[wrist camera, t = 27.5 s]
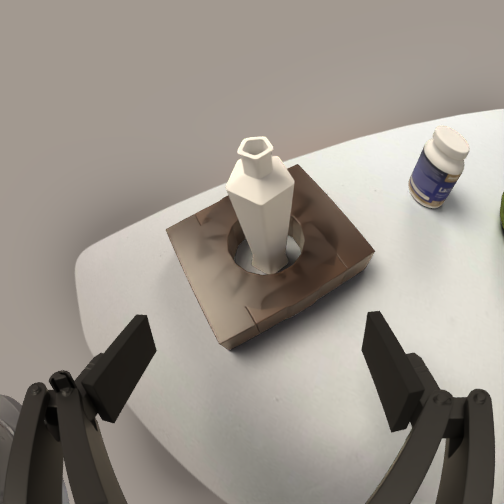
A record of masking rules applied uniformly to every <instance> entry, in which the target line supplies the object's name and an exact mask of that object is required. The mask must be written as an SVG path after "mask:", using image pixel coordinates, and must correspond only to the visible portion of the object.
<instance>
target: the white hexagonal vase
mask: <svg viewBox="0 0 504 504" xmlns="http://www.w3.org/2000/svg"><path fill="white" fill-rule="evenodd" d="M272 151H273V146H272V145H271V143H270V142H269V140H268V139H267V138H266V137H252V138H245V139H243V141H242V143H241V145H240V147H239V149H238V154H240V155H241V159H240V160H238V161H237V163H236V165H235V167H234V169H233V172H232V174H231V176H230V178H229V180H228V182H227V185H226V190H227V193H228V195H229V198H230V200H231V203H232V205H233V207H234V210H235V212H236V215H237V217H238V220H239V222H240V225H241V227H242V229H243V232H244V234H245V237H246V239H247V242H248V244H249V247H250V249H251V251H252V254H253V259H252V263H251V264H252V266H253V267H255V268H257V269H259V270H260V271H262V272H264V273H266V274H267V275H268V274H275V273H276V272H277V271H279V270H280V269H281V268H283V267H284V266H285V265H286V264H288V263H289V260H288V258H287V256H286V254H285V250H286V243H287V236H288V229H289V221H290V214H291V206H292V198H293V190H294V179H293V178H292V176H291V175H290V173H289V172H288V170H287V168H286V167H285V165H284V164H283V162H282V161H281V159H280V158H279V157H278V156H272V153H271V152H272Z"/></svg>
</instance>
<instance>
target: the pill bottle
mask: <svg viewBox="0 0 504 504" xmlns="http://www.w3.org/2000/svg"><path fill="white" fill-rule="evenodd" d="M469 150H470V148H469V144H468V143H467V141H466V140H465V138H464V137H463V136H462V135H461V134H459V133H458V132H457V131H455V130H453V129H452V128H449V127H447V126H438V127H436V129H435V131H434V133H433V139H430V140H428V141H427V142H426V144H425V146H424V148H423V150H422V152H421V155H420V157H419V159H418V162H417V164H416V166H415V168H414V170H413V172H412V175H411V177H410V179H409V183H408V186H409V190H410V193H411V194H412V196H413V197H414V198H415V200H416V201H418V202H419V203H420V204H422V205H423V206H426V207H429V208H438V207H440V206H441V205H442V204H443V203H444V201H445V199H446V198H447V196H448V195H449V193H450V192H451V190H452V188H453V187H454V185H455V184H456V182H457V180H458V179H459V177H460V175H461V174H462V172H463V170H464V159H465V158H466V157H467V155H468V153H469Z"/></svg>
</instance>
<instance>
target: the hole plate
mask: <svg viewBox="0 0 504 504" xmlns="http://www.w3.org/2000/svg"><path fill="white" fill-rule="evenodd" d="M287 170H288V172H289V173H290V175H291V176H292V178H293V179H294V190H293V198H292V206H291V214H290V221H289V229H288V235H289V236H291V237H292V238H293V239H294V240H295V241H296V243H297V244H298V245H299V247H300V250H301V255H300V256H299V257H298V259H297V260H296V261H295V263H294V264H293V265H292V266H290V267H288V268H287V269H285V270H283V271H281V272H280V273H275V274H268V275H260V274H255V273H251V272H247V271H246V270H244V269H243V268H241V267H240V266H239V265H237V264H236V263H235V258H234V257H235V254H236V251H237V248H238V246H239V245H240V243H241V242H242V241H243V240H244V239H245V238H246V237H245V234H244V232H243V229H242V227H241V225H240V222H239V220H238V217H237V215H236V212H235V210H234V207H233V205H232V203H231V200H230V198H229V195H228V196H226V197H224V198H223V199H221V200H220V201H219V202H217V203H215V204H213V205H211V206H209V207H207V208H205V209H203V210H201V211H199V212H197V213H196V214H194V215H192V216H190V217H188V218H186V219H184V220H182V221H180V222H179V223H177V224H175V225H173V226H171V227H169V228H168V229H166V232H167V234H168V236H169V239H170V241H171V243H172V246H173V248H174V250H175V253H176V255H177V257H178V259H179V262H180V264H181V266H182V268H183V270H184V273H185V275H186V277H187V279H188V281H189V283H190V286H191V288H192V290H193V292H194V294H195V296H196V298H197V300H198V302H199V304H200V306H201V308H202V311H203V313H204V315H205V317H206V319H207V321H208V323H209V325H210V327H211V329H212V330H213V332H214V334H215V336H216V338H217V340H218V342H219V344H220V345H222V346H223V347H225V348H226V349H228V350H231V349H233V348H235V347H237V346H238V345H240V344H242V343H244V342H246V341H248V340H250V339H251V338H253V337H255V336H257V335H259V334H260V333H262V332H264V331H266V330H267V329H269V328H271V327H273V326H274V325H276V324H278V323H280V322H281V321H283V320H285V319H287V318H291V317H293V316H295V315H296V314H298V313H300V312H301V311H303V310H305V309H306V308H308V307H310V306H311V305H313V304H314V303H315V302H316V300H318V299H320V298H321V297H323V296H324V295H326V294H328V293H329V292H331V291H332V290H334V289H335V288H337V287H338V286H340V285H342V284H343V283H345V282H346V281H348V280H349V279H351V278H352V277H354V276H355V275H357V274H358V273H360V272H361V271H363V270H364V269H365V268H366V266H367V264H368V263H369V261H370V259H371V257H372V256H373V254H374V252H375V250H374V249H373V248H372V247H371V245H370V244H369V243H368V242H367V241H366V239H365V238H364V237H363V236H362V235H361V233H360V232H359V231H358V230H357V229H356V227H355V226H354V225H353V224H352V223H351V221H350V220H349V219H348V218H347V217H346V216H345V215H344V213H343V212H342V211H341V210H340V209H339V208H338V207H337V205H336V204H335V203H334V202H333V201H332V200H331V199H330V198H329V197H328V195H327V194H326V193H325V192H324V191H323V190H322V189H321V188H320V187H319V186H318V185H317V184H316V182H315V181H314V180H313V179H312V178H311V177H310V176H309V175H308V174H307V173H306V172H305V171H304V170H303V169H302V168H301V167H300V166H299V165H298V164H297V165H295V166H292V167H290V168H288V169H287Z"/></svg>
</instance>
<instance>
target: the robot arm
mask: <svg viewBox="0 0 504 504" xmlns="http://www.w3.org/2000/svg"><path fill="white" fill-rule="evenodd" d="M156 351H157V350H156V347H155V343H154V340H153V336H152V333H151V329H150V325H149V322H148V318H147V315H136V316H135V317H134V318H133V319H132V320H131V321H130V323H129V324H128V325H127V326H126V327H125V329H124V330H123V331H122V332H121V333H120V334H119V336H118V337H117V338H116V339H115V340H114V342H113V343H112V344H111V345H110V346H109V348H108V349H107V350H106V351H105V353H100V354H98V355H97V356H95V357H94V358H93V359H92V360H91V361H90V363H89V364H88V365H87V366H86V368H85V369H84V370H83V371H82V372H81V374H80V375H79V376H78V377H77V378H76V380H75V381H74V380H73V378H72V376H71V374H70V373H69V372H67V371H64V370H63V371H58V372H56V373H54V374H53V375H52V376H51V377H50V379H49V382H50V384H51V386H52V388H53V389H54V390H48V389H47V388H46V386H45V385H44V384H43V383H40V382H38V383H34V384H32V385H31V386H30V387H29V388H28V390H27V392H26V395H25V398H24V401H23V405H22V408H21V411H20V414H19V418H18V421H17V425H16V429H15V433H14V432H13V431H12V429H11V428H10V427H9V426H8V425H7V424H6V423H5V422H4V421H2V420H1V419H0V504H62V478H63V476H62V475H63V458H64V461H65V466H66V471H67V475H68V479H69V483H70V487H71V491H72V494H73V498H74V501H75V504H127V501H126V499H125V497H124V495H123V493H122V490H121V488H120V486H119V483H118V481H117V478H116V476H115V473H114V471H113V468H112V465H111V463H110V460H109V457H108V454H107V451H106V449H105V445H104V442H103V439H102V436H101V432H100V429H99V426H98V422H97V420H96V418H95V416H96V415H97V413H98V414H99V415H100V417H101V419H102V420H104V421H107V422H111V423H115V421H116V419H117V418H118V416H119V414H120V412H121V410H122V409H123V407H124V405H125V404H126V402H127V400H128V398H129V397H130V395H131V393H132V392H133V390H134V388H135V386H136V385H137V383H138V381H139V380H140V378H141V376H142V374H143V373H144V371H145V369H146V368H147V366H148V364H149V363H150V361H151V359H152V358H153V356H154V354H155V353H156ZM362 352H363V355H364V357H365V360H366V363H367V365H368V368H369V370H370V373H371V376H372V378H373V381H374V384H375V386H376V389H377V392H378V395H379V397H380V400H381V403H382V406H383V409H384V412H385V415H386V418H387V421H388V424H389V427H390V430H391V432H395V431H400V430H404V429H406V428H407V426H408V424H409V422H410V423H411V425H412V429H411V431H410V433H409V435H408V436H407V438H406V441H405V443H404V445H403V446H402V448H401V450H400V452H399V453H398V455H397V457H396V459H395V460H394V462H393V464H392V465H391V467H390V468H389V470H388V472H387V473H386V475H385V476H384V478H383V479H382V481H381V482H380V484H379V485H378V487H377V488H376V490H375V491H374V492H373V494H372V495H371V497H370V498H369V499H368V501H367V502H366V503H365V504H410V503H411V501H412V500H413V498H414V496H415V494H416V493H417V491H418V489H419V487H420V485H421V483H422V481H423V479H424V477H425V475H426V473H427V471H428V469H429V467H430V465H431V463H432V461H433V458H434V456H435V454H436V451H437V449H438V447H439V444H440V442H441V439H442V438H446V446H445V454H444V462H443V469H442V475H441V480H440V486H439V490H438V495H437V499H436V504H492V498H493V488H494V472H495V437H494V421H493V410H492V401H491V397H490V395H489V394H488V392H486V391H485V390H482V389H474V390H473V391H471V392H470V394H469V395H468V397H461V398H455V397H453V396H452V395H451V394H450V393H449V392H447V391H445V390H440V388H439V387H438V385H437V383H436V381H435V380H434V378H433V376H432V375H431V373H430V371H429V370H428V368H427V366H425V363H424V361H423V360H422V358H421V357H419V356H418V355H417V354H415V353H410V354H405V352H404V350H403V348H402V347H401V345H400V343H399V342H398V340H397V338H396V337H395V335H394V333H393V332H392V330H391V328H390V327H389V325H388V323H387V322H386V320H385V319H384V317H383V315H382V314H381V312H380V311H374V312H368V314H367V320H366V327H365V333H364V339H363V345H362ZM44 420H45V421H44Z"/></svg>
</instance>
